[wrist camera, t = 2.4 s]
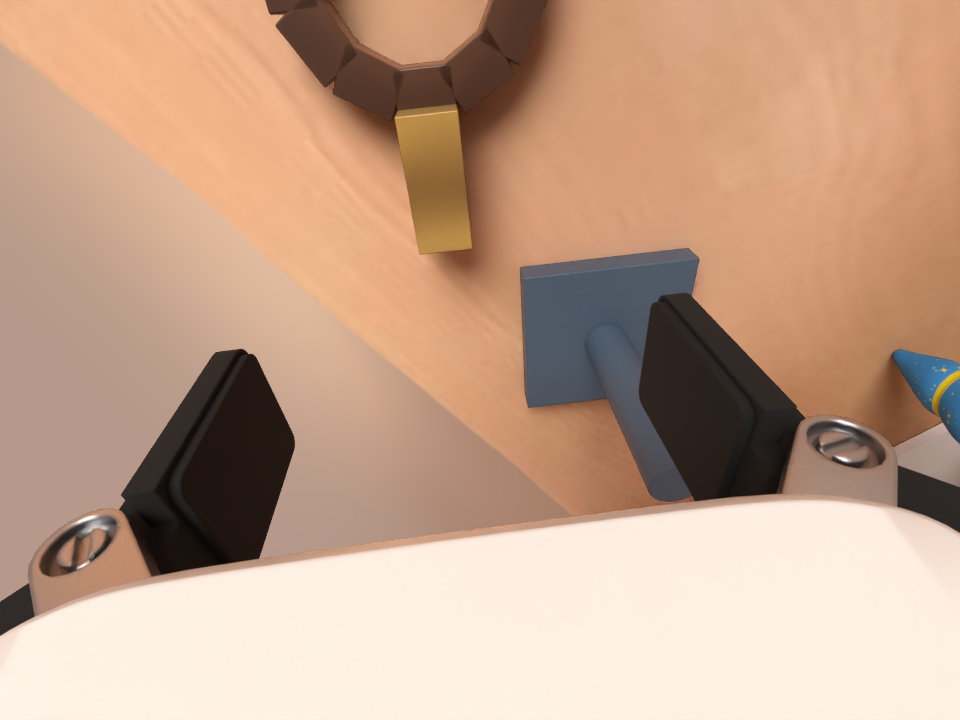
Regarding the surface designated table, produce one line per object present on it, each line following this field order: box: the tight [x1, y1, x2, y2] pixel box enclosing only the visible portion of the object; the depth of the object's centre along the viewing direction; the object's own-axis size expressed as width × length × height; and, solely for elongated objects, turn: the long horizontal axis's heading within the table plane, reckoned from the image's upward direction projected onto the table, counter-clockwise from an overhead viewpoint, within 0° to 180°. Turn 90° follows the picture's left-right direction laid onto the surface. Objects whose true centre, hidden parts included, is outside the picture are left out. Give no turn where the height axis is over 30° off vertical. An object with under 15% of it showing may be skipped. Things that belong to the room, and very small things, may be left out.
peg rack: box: [520, 248, 699, 502], centre depth 25 cm, size 10×10×12 cm
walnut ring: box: [265, 0, 548, 255], centre depth 19 cm, size 16×11×4 cm, turn 5°
